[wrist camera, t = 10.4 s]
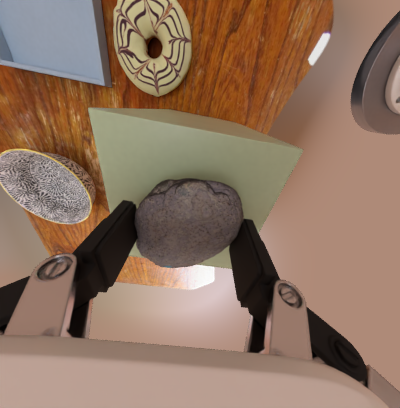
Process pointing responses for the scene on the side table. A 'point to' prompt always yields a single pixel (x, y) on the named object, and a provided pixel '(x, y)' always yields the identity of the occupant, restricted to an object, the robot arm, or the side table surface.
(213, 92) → the side table surface
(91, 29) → the tray
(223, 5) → the side table surface
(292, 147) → the stand
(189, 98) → the side table surface
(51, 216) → the bowl
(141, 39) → the decorated donut
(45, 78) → the side table surface
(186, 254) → the stone
